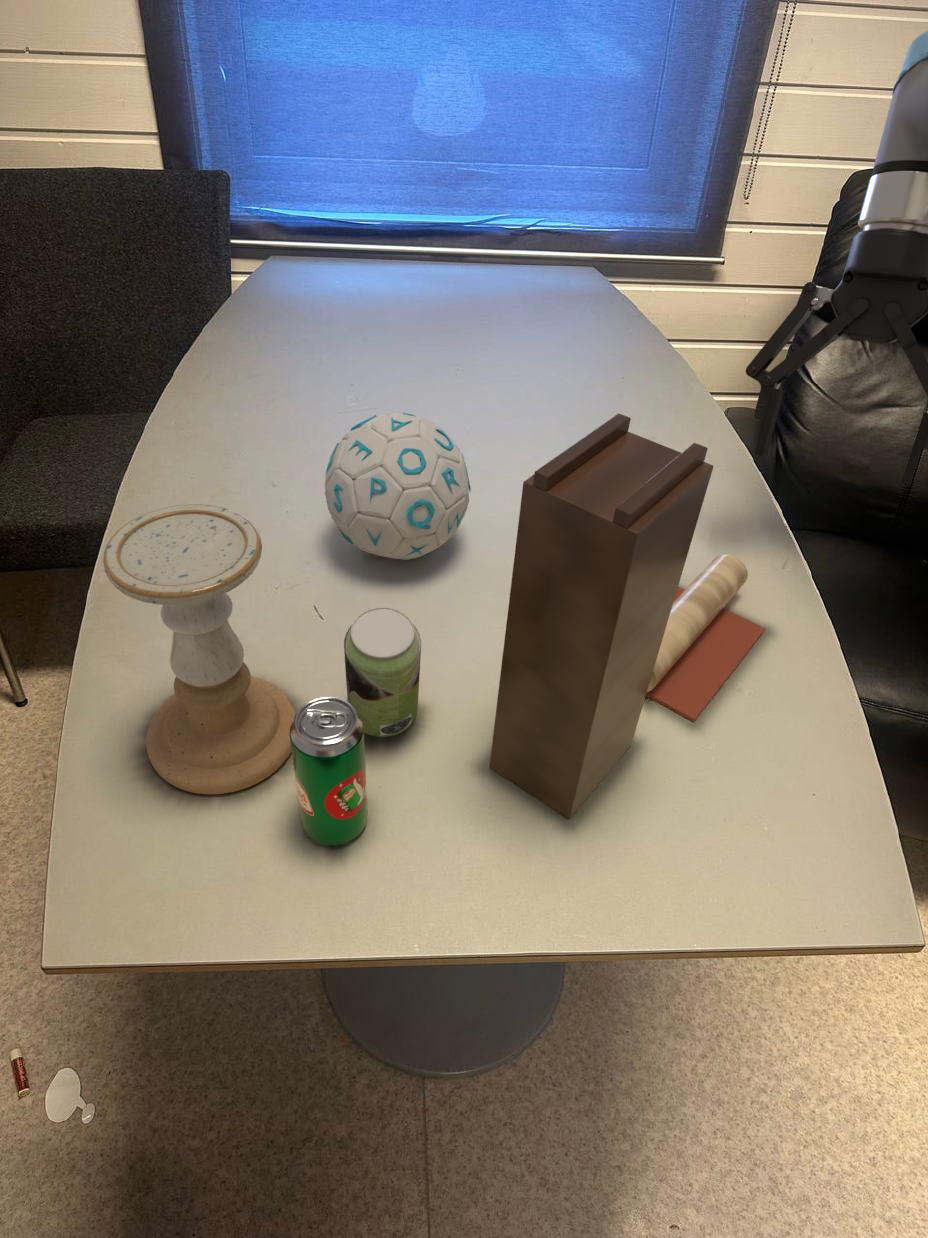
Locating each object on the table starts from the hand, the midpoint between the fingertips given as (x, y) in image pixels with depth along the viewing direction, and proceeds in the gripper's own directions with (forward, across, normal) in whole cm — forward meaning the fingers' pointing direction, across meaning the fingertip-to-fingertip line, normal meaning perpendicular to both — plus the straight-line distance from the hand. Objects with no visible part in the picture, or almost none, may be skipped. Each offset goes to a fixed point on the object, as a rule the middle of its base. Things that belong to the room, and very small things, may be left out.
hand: (830, 468), depth 81 cm
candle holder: (+29, +36, +42) cm, 63 cm away
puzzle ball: (+16, +40, +14) cm, 45 cm away
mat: (+19, +8, +11) cm, 23 cm away
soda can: (+31, +24, +43) cm, 58 cm away
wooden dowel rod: (+18, +8, +10) cm, 22 cm away
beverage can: (+26, +26, +33) cm, 50 cm away
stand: (+26, +12, +28) cm, 40 cm away
